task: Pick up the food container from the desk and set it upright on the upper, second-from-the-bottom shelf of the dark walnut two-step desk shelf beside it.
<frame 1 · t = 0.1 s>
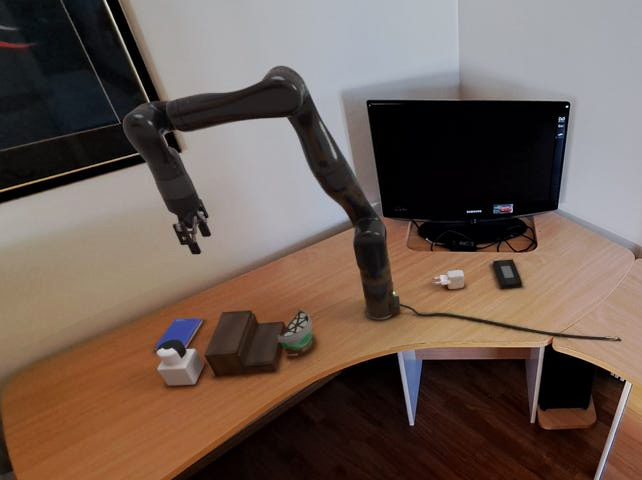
hand: (202, 244, 121), 29 cm above the table, tool pointing down, fingers open, 8 cm apart
vhs tape: (506, 276, 163), on the table
desk shelf: (253, 351, 131), on the table
power adapter: (448, 287, 157), on the table
food container: (306, 347, 133), on the table
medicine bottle: (187, 375, 124), on the table
hard drive: (180, 336, 135), on the table
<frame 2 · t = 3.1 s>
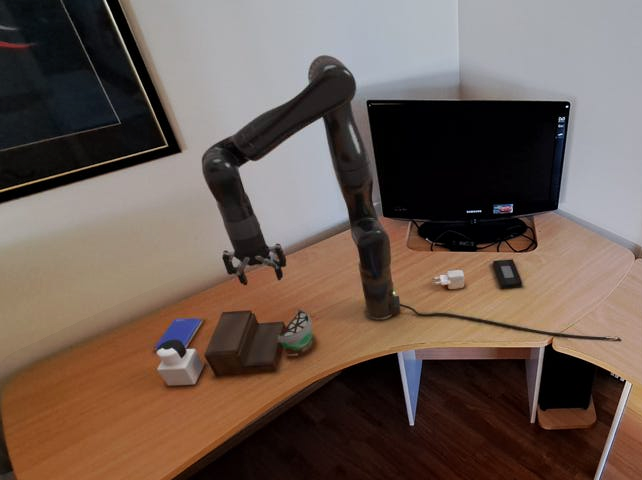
hand: (263, 281, 120), 23 cm above the table, tool pointing down, fingers open, 8 cm apart
nothing on the table moved.
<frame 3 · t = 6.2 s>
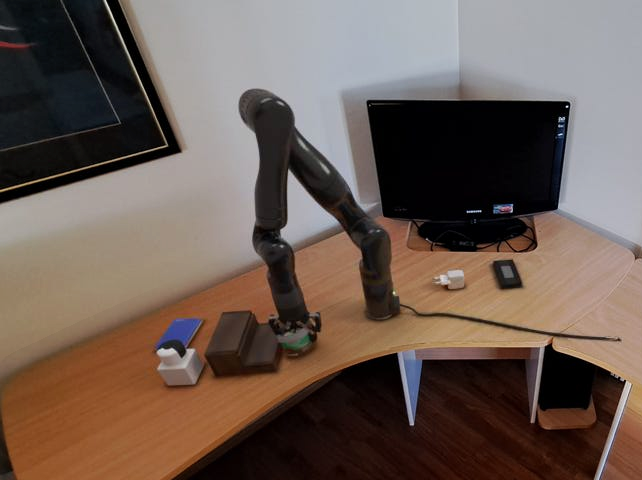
hand: (302, 341, 131), 3 cm above the table, tool pointing down, fingers closed on food container, 6 cm apart
food container: (306, 347, 133), on the table, touching gripper
everything else where it was.
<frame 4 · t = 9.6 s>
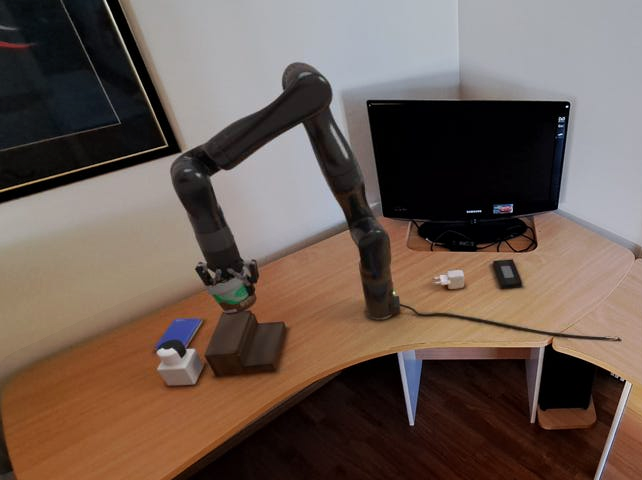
hand: (238, 295, 117), 22 cm above the table, tool pointing down, fingers closed on food container, 6 cm apart
food container: (247, 304, 119), point 19 cm above the table, touching gripper
everything else where it was.
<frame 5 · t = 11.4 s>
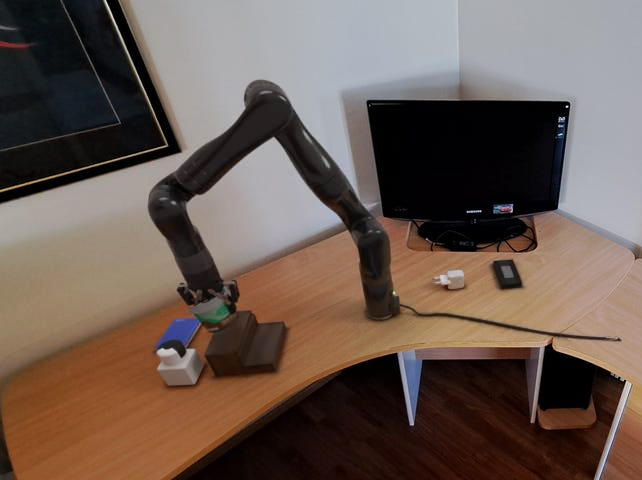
hand: (220, 313, 120), 16 cm above the table, tool pointing down, fingers closed on food container, 6 cm apart
food container: (229, 322, 122), point 13 cm above the table, touching gripper
everything else where it was.
when the fingers open (12 cm above the table, at t = 12.8 s): food container stays where it is, resting on desk shelf.
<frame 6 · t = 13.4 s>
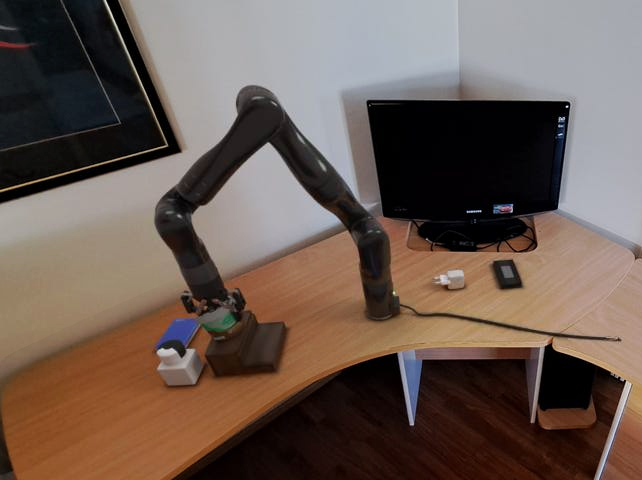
hand: (223, 320, 122), 13 cm above the table, tool pointing down, fingers open, 8 cm apart
food container: (236, 330, 124), point 9 cm above the table, touching desk shelf, gripper
everything else where it was.
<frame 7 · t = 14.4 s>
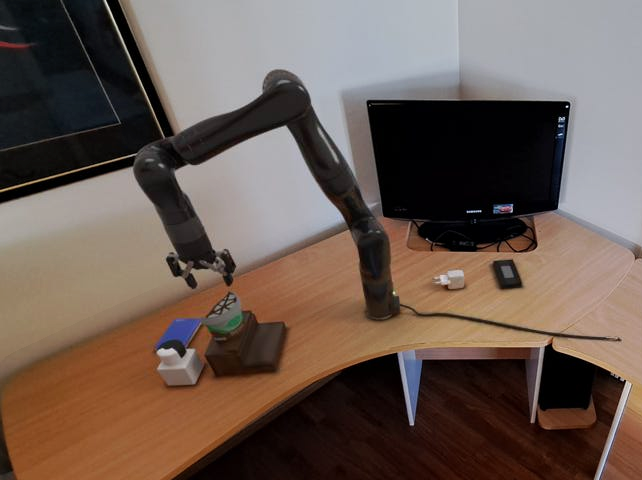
hand: (212, 285, 115), 25 cm above the table, tool pointing down, fingers open, 8 cm apart
food container: (237, 332, 125), point 9 cm above the table
everything else where it was.
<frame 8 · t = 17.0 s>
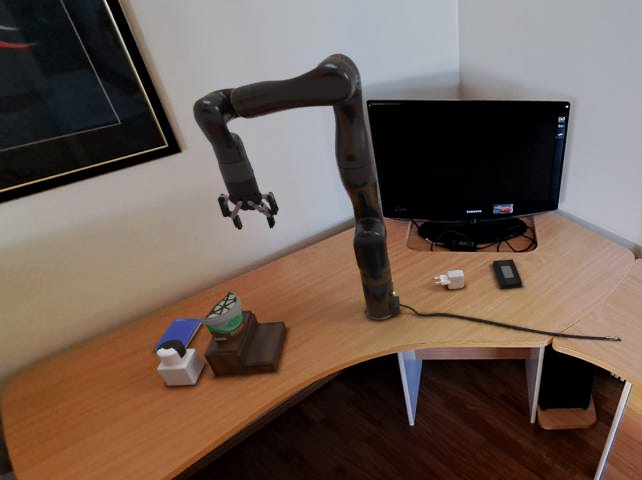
hand: (256, 227, 127), 30 cm above the table, tool pointing down, fingers open, 8 cm apart
food container: (237, 332, 125), point 9 cm above the table, touching desk shelf
everything else where it was.
at the end: food container inside the target area on the desk shelf (2.5 cm from its centre), point 8.8 cm above the desk shelf's base; food container tilted 0°; the gripper is holding nothing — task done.
